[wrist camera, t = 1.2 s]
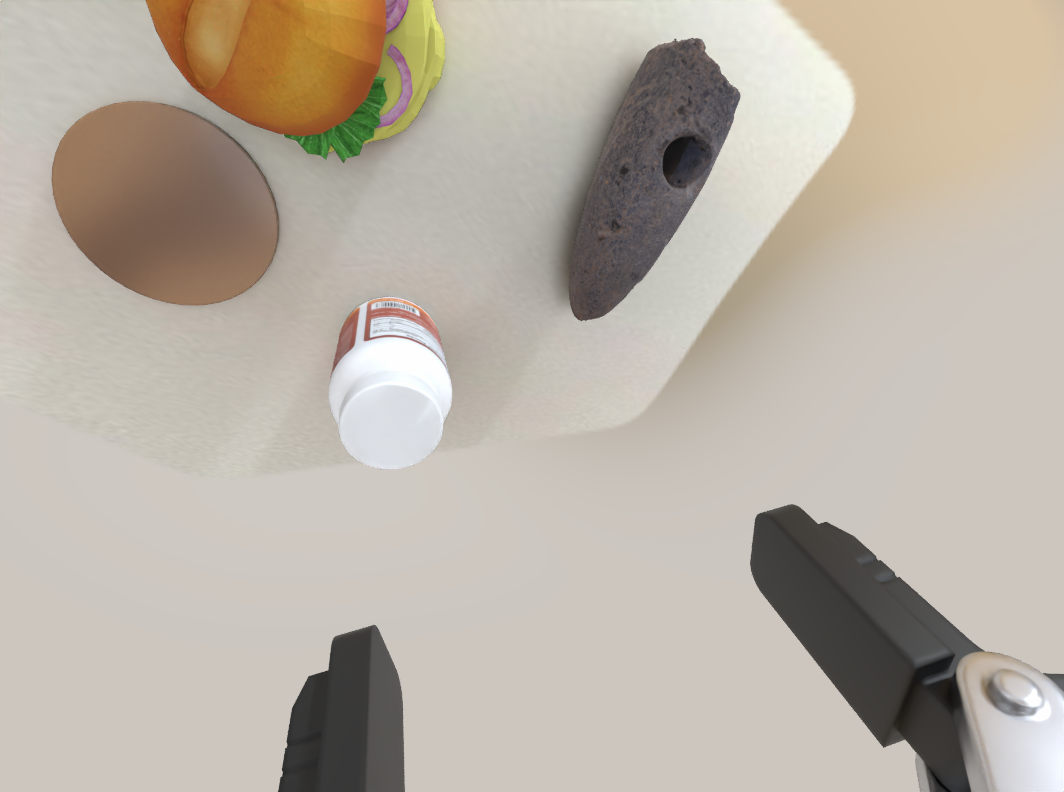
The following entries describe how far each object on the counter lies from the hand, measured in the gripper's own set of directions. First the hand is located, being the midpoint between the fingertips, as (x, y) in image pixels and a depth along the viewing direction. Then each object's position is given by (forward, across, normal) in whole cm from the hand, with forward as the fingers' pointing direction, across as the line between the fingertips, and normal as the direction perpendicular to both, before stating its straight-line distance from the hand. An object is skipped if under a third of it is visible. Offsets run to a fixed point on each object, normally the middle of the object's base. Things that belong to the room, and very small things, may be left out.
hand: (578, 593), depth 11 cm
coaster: (+25, +14, -6) cm, 29 cm away
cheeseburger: (+25, +4, -13) cm, 29 cm away
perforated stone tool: (+25, -11, -3) cm, 28 cm away
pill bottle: (+25, +5, +3) cm, 26 cm away
